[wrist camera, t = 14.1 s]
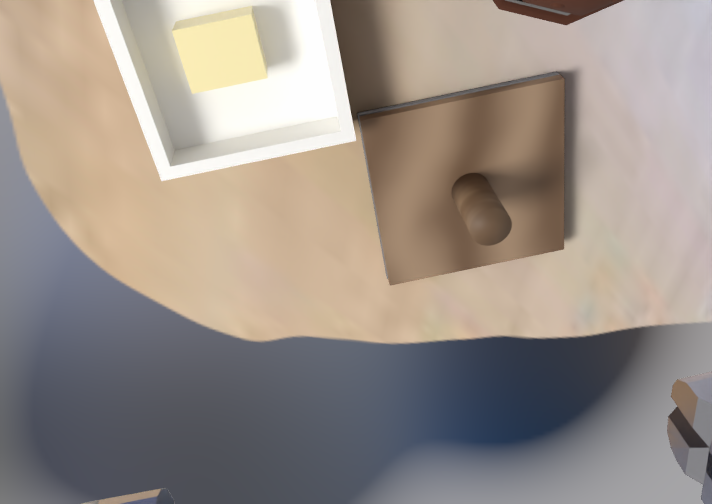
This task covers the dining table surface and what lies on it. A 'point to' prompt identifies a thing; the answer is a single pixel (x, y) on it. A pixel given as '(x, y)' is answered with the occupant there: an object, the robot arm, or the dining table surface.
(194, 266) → the dining table surface
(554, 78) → the lid
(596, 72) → the dining table surface
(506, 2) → the ice cream bowl
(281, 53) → the dish
